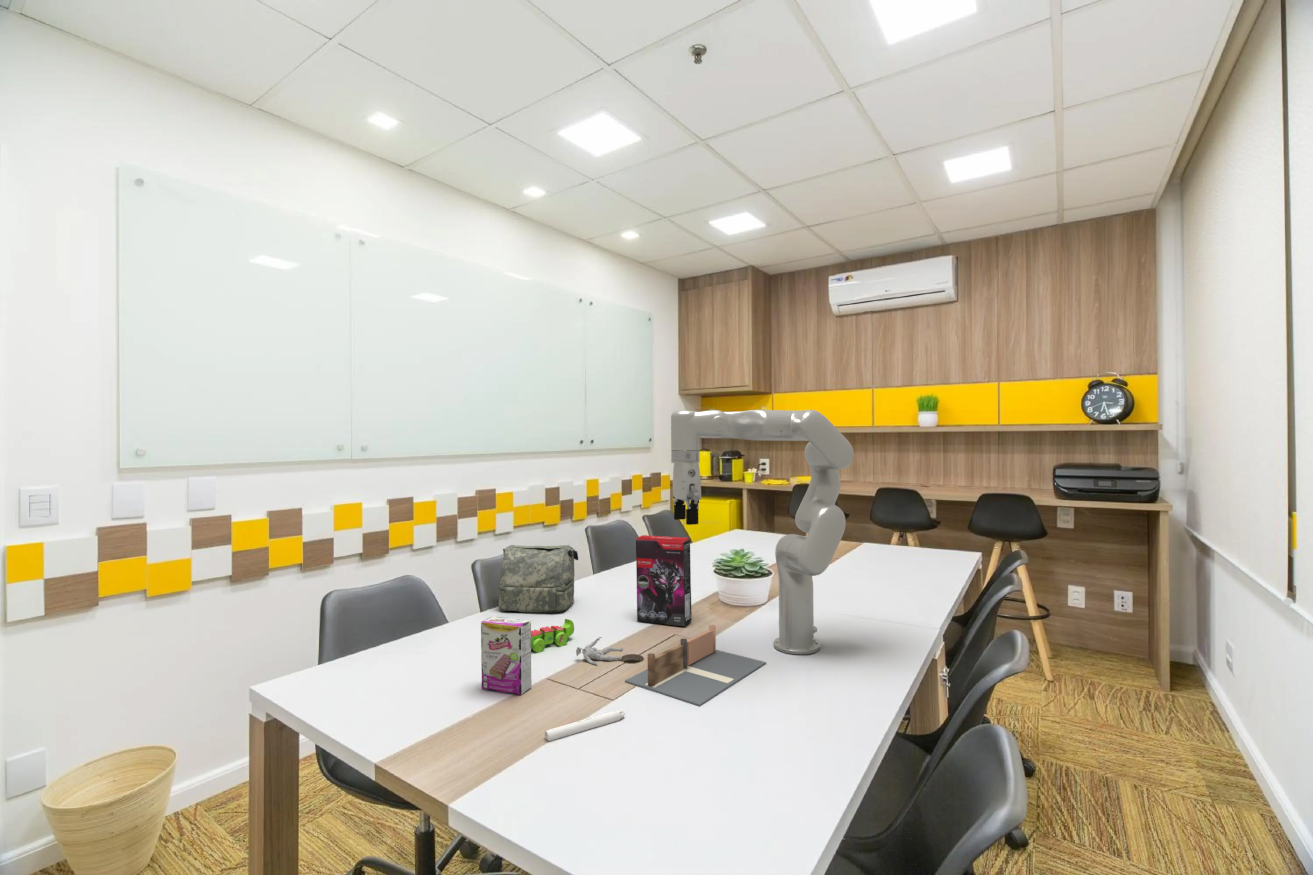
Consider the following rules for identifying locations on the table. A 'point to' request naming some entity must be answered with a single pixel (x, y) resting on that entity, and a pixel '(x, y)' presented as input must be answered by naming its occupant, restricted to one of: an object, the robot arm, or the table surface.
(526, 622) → the candy bar box
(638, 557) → the graphics card box
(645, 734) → the table surface
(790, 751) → the table surface
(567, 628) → the toy crocodile
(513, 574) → the lunch bag
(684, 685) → the mat
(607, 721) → the marker
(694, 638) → the fence swing section
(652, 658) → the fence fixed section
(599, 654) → the soldier figure
